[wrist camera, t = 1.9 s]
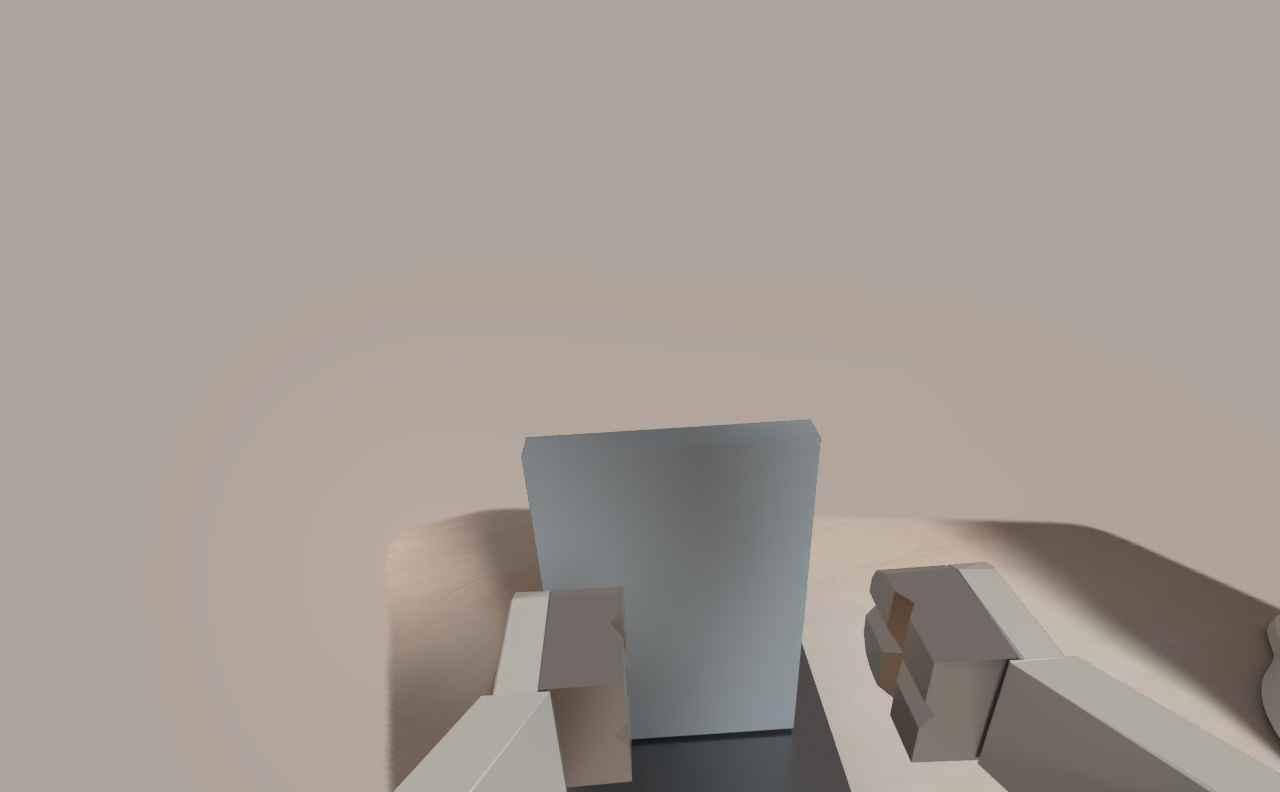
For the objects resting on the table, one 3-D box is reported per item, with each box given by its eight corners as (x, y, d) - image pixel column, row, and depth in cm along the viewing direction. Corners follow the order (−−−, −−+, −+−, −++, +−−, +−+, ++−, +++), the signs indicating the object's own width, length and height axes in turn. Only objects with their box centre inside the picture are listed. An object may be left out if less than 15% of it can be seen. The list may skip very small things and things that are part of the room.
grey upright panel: (786, 702, 35) (810, 419, 26) (793, 728, 33) (820, 437, 25) (497, 722, 34) (430, 443, 26) (492, 748, 33) (420, 463, 25)
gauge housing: (773, 571, 46) (776, 505, 43) (859, 838, 30) (874, 759, 27) (516, 588, 46) (504, 522, 43) (464, 866, 30) (439, 789, 27)
